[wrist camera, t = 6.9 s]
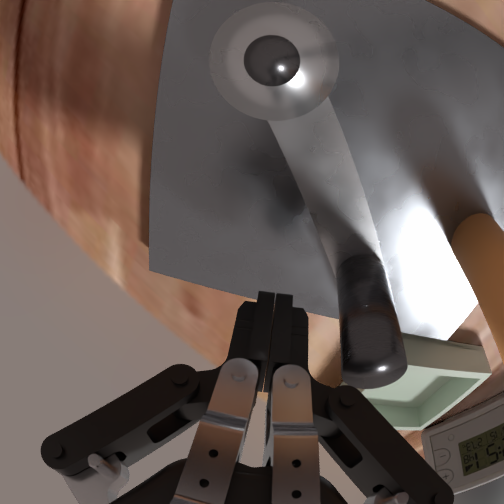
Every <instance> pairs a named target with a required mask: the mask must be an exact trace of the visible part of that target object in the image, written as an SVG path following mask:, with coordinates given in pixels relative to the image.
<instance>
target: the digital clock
mask: <svg viewBox="0 0 504 504" xmlns="http://www.w3.org/2000/svg"><path fill="white" fill-rule="evenodd" d="M421 439H422V445H423V450H424V455H425V461H426V462H427V463H428V464H429V465H430V466H431V467H432V468H433V469H434V470H435V472H436V473H437V474H438V475H439V476H440V477H441V478H442V479H443V480H444V481H445V482H446V483H447V484H448V485H449V486H450V487H451V488H452V490H453V493H454V495H455V494H458V493H463V492H465V491H468V490H471V489H474V488H477V487H479V486H482V485H484V484H487V483H489V482H492V481H494V480H497V479H499V478H501V477H503V476H504V392H503V393H501V394H499V395H497V396H495V397H493V398H491V399H489V400H487V401H485V402H483V403H481V404H479V405H477V406H475V407H473V408H471V409H468V410H466V411H464V412H462V413H459V414H457V415H455V416H452V417H450V418H448V419H445V422H442V423H440V424H437V425H434V426H432V427H429V428H427V429H425V430H424V431H423V432H422V434H421Z"/></svg>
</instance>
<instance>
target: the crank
mask: <svg viewBox="0 0 504 504" xmlns="http://www.w3.org/2000/svg"><path fill="white" fill-rule="evenodd" d="M209 67H210V73H211V76H212V80H213V82H214V84H215V86H216V88H217V90H218V91H219V93H220V94H221V95H222V97H223V98H224V99H225V100H226V101H227V102H228V103H229V104H230V105H232V106H233V107H234V108H236V109H237V110H239V111H240V112H242V113H244V114H246V115H249V116H251V117H254V118H258V119H262V120H267V121H268V123H269V125H270V127H271V129H272V131H273V133H274V135H275V137H276V139H277V141H278V143H279V146H280V148H281V150H282V152H283V154H284V156H285V158H286V161H287V163H288V165H289V167H290V169H291V172H292V174H293V176H294V178H295V180H296V183H297V185H298V187H299V190H300V192H301V194H302V196H303V199H304V201H305V203H306V206H307V208H308V210H309V213H310V215H311V217H312V220H313V222H314V225H315V227H316V229H317V232H318V234H319V237H320V239H321V242H322V244H323V247H324V249H325V252H326V254H327V257H328V259H329V262H330V264H331V267H332V269H333V272H334V275H335V277H336V280H337V293H338V307H339V323H340V343H341V373H342V380H343V381H344V382H345V383H346V384H347V385H349V386H353V387H355V388H358V389H375V388H380V387H384V386H387V385H389V384H392V383H394V382H395V381H397V380H398V379H400V378H401V377H402V376H403V375H404V374H405V372H406V370H407V367H408V364H407V358H406V353H405V348H404V343H403V338H402V333H401V329H400V324H399V320H398V316H397V311H396V307H395V303H394V299H393V295H392V291H391V287H390V284H389V280H388V276H387V273H386V269H385V265H384V261H383V257H382V253H381V249H380V245H379V242H378V238H377V234H376V231H375V227H374V224H373V220H372V217H371V213H370V210H369V207H368V203H367V200H366V197H365V194H364V191H363V188H362V184H361V181H360V178H359V175H358V173H357V170H356V167H355V164H354V161H353V158H352V155H351V153H350V150H349V147H348V144H347V142H346V139H345V136H344V134H343V131H342V129H341V126H340V124H339V121H338V119H337V116H336V114H335V111H334V109H333V106H332V104H331V102H330V99H329V97H328V95H329V94H330V93H331V91H332V89H333V87H334V85H335V83H336V80H337V77H338V72H339V53H338V49H337V45H336V43H335V40H334V38H333V36H332V35H331V33H330V31H329V30H328V28H327V27H326V26H325V25H324V24H323V23H322V22H321V21H320V20H319V19H318V18H317V17H316V16H314V15H313V14H312V13H310V12H308V11H306V10H305V9H303V8H300V7H298V6H295V5H291V4H288V3H281V2H264V3H258V4H254V5H251V6H248V7H245V8H243V9H241V10H239V11H237V12H236V13H234V14H233V15H232V16H230V17H229V18H228V19H227V20H226V21H225V22H224V23H223V24H222V25H221V27H220V28H219V29H218V31H217V33H216V34H215V36H214V39H213V41H212V44H211V47H210V53H209Z"/></svg>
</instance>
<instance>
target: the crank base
mask: <svg viewBox="0 0 504 504" xmlns="http://www.w3.org/2000/svg"><path fill="white" fill-rule="evenodd" d="M264 2H281V3H288V4H291V5H295V6H298V7H300V8H303V9H305V10H306V11H308V12H310V13H312V14H313V15H314V16H316V17H317V18H318V19H319V20H320V21H321V22H322V23H323V24H324V25H325V26H326V27H327V28H328V30H329V31H330V33H331V35H332V36H333V38H334V40H335V43H336V45H337V49H338V53H339V72H338V77H337V80H336V83H335V85H334V87H333V89H332V91H331V93H330V94H329V95H328V97H329V99H330V102H331V104H332V106H333V109H334V111H335V114H336V116H337V119H338V121H339V124H340V126H341V129H342V131H343V134H344V136H345V139H346V142H347V144H348V147H349V150H350V153H351V155H352V158H353V161H354V164H355V167H356V170H357V173H358V175H359V178H360V181H361V184H362V188H363V191H364V194H365V197H366V200H367V203H368V207H369V210H370V213H371V217H372V220H373V224H374V227H375V231H376V234H377V238H378V242H379V245H380V249H381V253H382V257H383V261H384V265H385V269H386V273H387V276H388V280H389V284H390V287H391V291H392V295H393V299H394V303H395V307H396V311H397V316H398V320H399V324H400V329H401V332H403V333H408V334H413V335H419V336H424V337H429V338H435V339H441V340H446V341H447V340H448V339H449V337H450V336H451V335H452V334H453V333H454V332H455V330H456V329H457V328H458V327H459V326H460V324H461V323H462V322H463V321H464V320H465V318H466V317H467V316H468V315H469V313H470V312H471V311H472V310H473V308H474V307H475V306H476V304H477V303H478V301H477V299H476V297H475V294H474V292H473V290H472V288H471V286H470V284H469V282H468V280H467V278H466V277H465V275H464V273H463V271H462V269H461V267H460V265H459V263H458V262H457V260H456V258H455V256H454V254H453V252H452V248H451V242H452V237H453V234H454V232H455V230H456V229H457V227H458V226H459V225H460V223H461V222H462V221H464V220H465V219H466V218H468V217H469V216H471V215H474V214H478V213H484V214H488V215H490V216H491V217H492V218H493V219H494V220H495V221H496V222H497V224H498V225H499V226H500V227H501V228H502V230H503V231H504V48H503V47H502V46H501V45H499V44H498V43H496V42H495V41H494V40H492V39H491V38H489V37H488V36H486V35H485V34H483V33H482V32H480V31H479V30H477V29H476V28H474V27H472V26H471V25H469V24H468V23H466V22H464V21H463V20H461V19H459V18H457V17H456V16H454V15H452V14H450V13H449V12H447V11H445V10H443V9H441V8H439V7H437V6H435V5H434V4H432V3H430V2H428V1H426V0H173V3H172V8H171V12H170V17H169V23H168V28H167V33H166V39H165V45H164V51H163V58H162V64H161V71H160V78H159V86H158V94H157V103H156V112H155V122H154V134H153V146H152V161H151V179H150V206H149V271H153V272H156V273H160V274H163V275H167V276H170V277H174V278H177V279H181V280H184V281H188V282H191V283H195V284H199V285H202V286H206V287H210V288H213V289H217V290H221V291H225V292H229V293H232V294H236V295H240V296H244V297H248V298H252V299H256V300H257V298H258V292H259V291H266V292H274V293H275V298H276V293H283V294H291V295H293V307H298V308H304V310H305V312H309V313H314V314H318V315H322V316H327V317H331V318H336V319H339V307H338V293H337V280H336V277H335V275H334V272H333V269H332V267H331V264H330V262H329V259H328V257H327V254H326V252H325V249H324V247H323V244H322V242H321V239H320V237H319V234H318V232H317V229H316V227H315V225H314V222H313V220H312V217H311V215H310V213H309V210H308V208H307V206H306V203H305V201H304V199H303V196H302V194H301V192H300V190H299V187H298V185H297V183H296V180H295V178H294V176H293V174H292V172H291V169H290V167H289V165H288V163H287V161H286V158H285V156H284V154H283V152H282V150H281V148H280V146H279V143H278V141H277V139H276V137H275V135H274V133H273V131H272V129H271V127H270V125H269V123H268V121H267V120H262V119H258V118H254V117H251V116H249V115H246V114H244V113H242V112H240V111H239V110H237V109H236V108H234V107H233V106H232V105H230V104H229V103H228V102H227V101H226V100H225V99H224V98H223V97H222V95H221V94H220V93H219V91H218V90H217V88H216V86H215V84H214V82H213V80H212V76H211V73H210V67H209V53H210V47H211V44H212V41H213V39H214V36H215V34H216V33H217V31H218V29H219V28H220V27H221V25H222V24H223V23H224V22H225V21H226V20H227V19H228V18H229V17H230V16H232V15H233V14H234V13H236V12H237V11H239V10H241V9H243V8H245V7H248V6H251V5H254V4H258V3H264ZM274 304H275V301H274Z"/></svg>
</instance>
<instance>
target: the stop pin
mask: <svg viewBox="0 0 504 504" xmlns="http://www.w3.org/2000/svg"><path fill="white" fill-rule="evenodd" d="M451 248H452V252H453V254H454V256H455V258H456V260H457V262H458V263H459V265H460V267H461V269H462V271H463V273H464V275H465V277H466V278H467V280H468V282H469V284H470V286H471V288H472V290H473V292H474V294H475V297H476V299H477V301H478V303H479V305H480V307H481V309H482V312H483V314H484V316H485V318H486V321H487V323H488V325H489V328H490V330H491V332H492V335H493V337H494V340H495V342H496V345H497V347H498V350H499V353H500V355H501V358H502V361H503V364H504V231H503V230H502V228H501V227H500V226H499V225H498V224H497V222H496V221H495V220H494V219H493V218H492V217H491V216H490V215H488V214H484V213H478V214H474V215H471V216H469V217H468V218H466V219H465V220H464V221H462V222H461V223H460V225H459V226H458V227H457V229H456V230H455V232H454V234H453V237H452V242H451Z"/></svg>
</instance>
